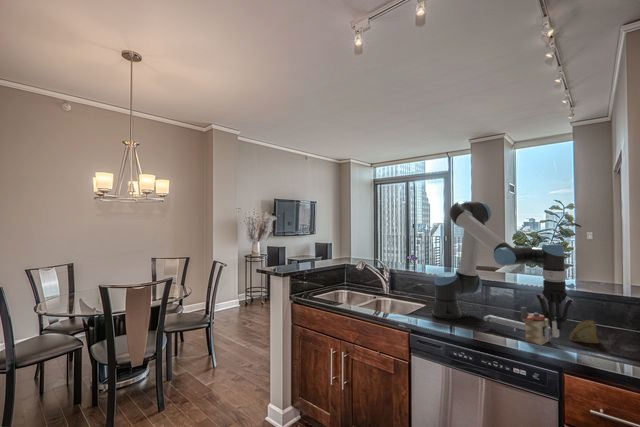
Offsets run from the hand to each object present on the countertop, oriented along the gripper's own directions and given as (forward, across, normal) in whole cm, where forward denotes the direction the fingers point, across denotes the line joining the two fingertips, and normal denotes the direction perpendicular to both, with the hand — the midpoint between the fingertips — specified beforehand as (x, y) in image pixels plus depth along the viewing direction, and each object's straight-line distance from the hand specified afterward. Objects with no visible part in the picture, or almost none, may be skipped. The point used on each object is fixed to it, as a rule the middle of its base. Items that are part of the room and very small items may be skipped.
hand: (556, 336), depth 131 cm
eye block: (+4, -7, 0) cm, 8 cm away
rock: (+4, +5, +16) cm, 17 cm away
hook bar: (+1, -15, 0) cm, 15 cm away
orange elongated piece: (-6, -8, -3) cm, 10 cm away
